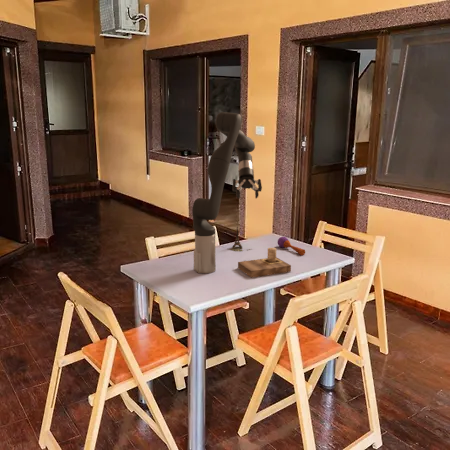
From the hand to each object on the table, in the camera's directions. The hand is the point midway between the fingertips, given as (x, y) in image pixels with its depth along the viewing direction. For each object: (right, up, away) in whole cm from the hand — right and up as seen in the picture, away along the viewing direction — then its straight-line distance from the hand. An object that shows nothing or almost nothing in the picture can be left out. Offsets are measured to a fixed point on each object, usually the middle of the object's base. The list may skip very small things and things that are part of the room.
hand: (247, 197), depth 233 cm
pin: (+11, -33, -9) cm, 36 cm away
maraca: (+24, -27, +18) cm, 40 cm away
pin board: (+7, -34, -13) cm, 37 cm away
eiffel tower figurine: (-5, -26, +23) cm, 35 cm away
